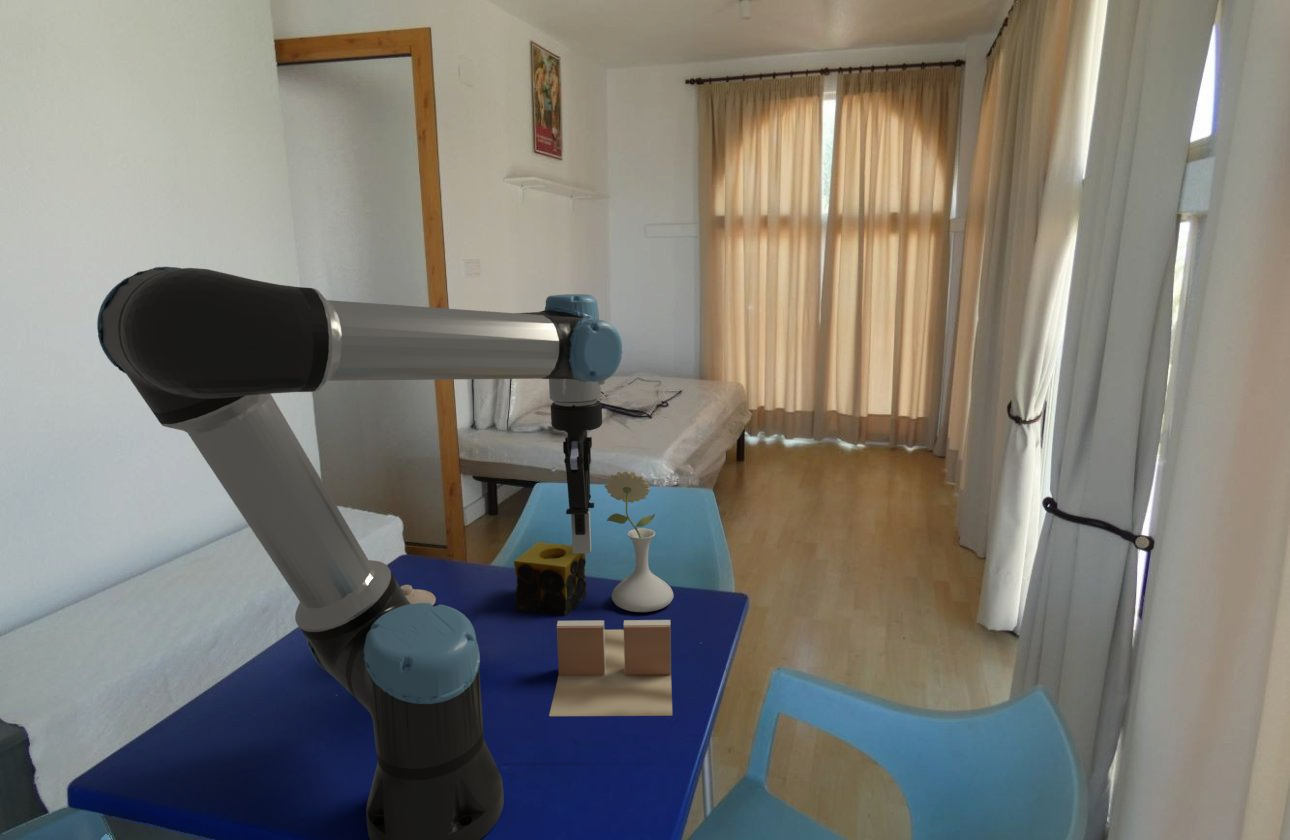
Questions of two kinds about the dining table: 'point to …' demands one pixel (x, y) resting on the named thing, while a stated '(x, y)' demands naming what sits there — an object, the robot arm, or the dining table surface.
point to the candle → (550, 579)
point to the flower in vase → (637, 551)
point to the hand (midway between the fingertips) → (582, 551)
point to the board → (613, 689)
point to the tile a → (581, 647)
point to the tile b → (647, 647)
